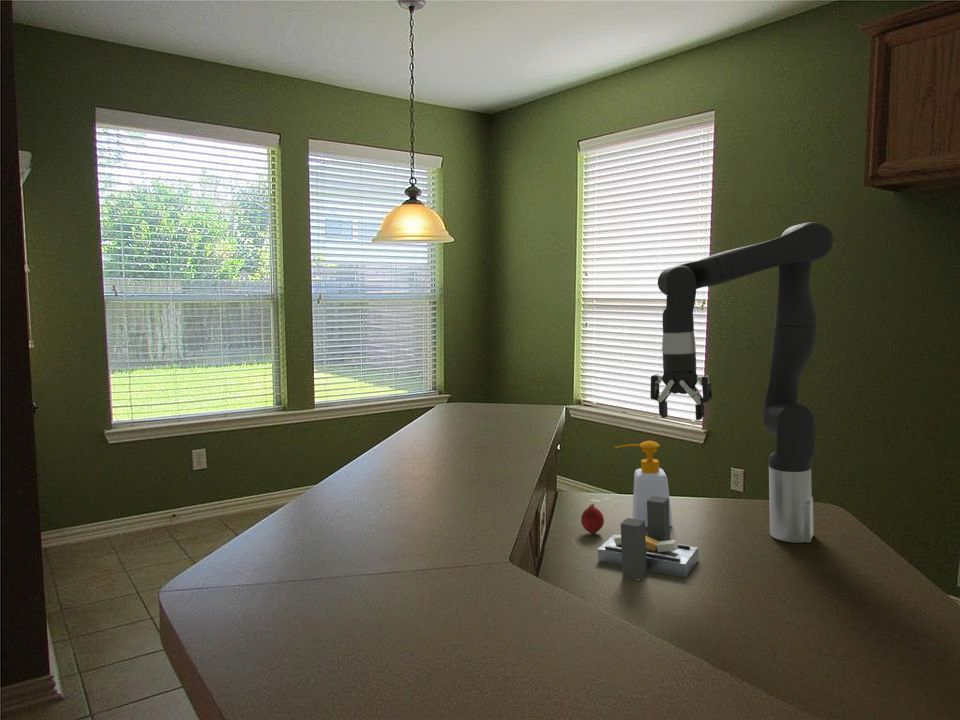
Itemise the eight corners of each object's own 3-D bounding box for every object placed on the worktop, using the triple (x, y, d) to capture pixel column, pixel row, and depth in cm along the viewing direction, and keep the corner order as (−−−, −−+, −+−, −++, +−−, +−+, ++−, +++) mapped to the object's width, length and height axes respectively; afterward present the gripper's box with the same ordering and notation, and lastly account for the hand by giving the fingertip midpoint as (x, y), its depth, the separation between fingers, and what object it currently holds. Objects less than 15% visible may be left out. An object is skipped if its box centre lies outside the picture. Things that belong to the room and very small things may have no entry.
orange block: (657, 547, 147) (659, 541, 146) (654, 551, 145) (656, 545, 144) (641, 540, 149) (642, 534, 148) (637, 544, 147) (639, 538, 146)
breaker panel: (698, 560, 146) (697, 545, 145) (685, 577, 137) (685, 561, 137) (614, 546, 157) (613, 532, 156) (598, 561, 148) (597, 546, 148)
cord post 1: (646, 573, 140) (644, 520, 139) (640, 580, 137) (638, 526, 136) (629, 570, 143) (627, 518, 142) (622, 577, 139) (620, 523, 138)
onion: (604, 538, 162) (602, 507, 161) (581, 538, 163) (579, 507, 163) (604, 530, 168) (603, 500, 167) (582, 529, 169) (580, 500, 168)
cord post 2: (670, 546, 155) (668, 497, 153) (665, 552, 151) (663, 502, 150) (654, 543, 157) (652, 496, 156) (648, 549, 153) (646, 500, 152)
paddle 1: (635, 539, 149) (633, 533, 149) (631, 543, 147) (629, 536, 147) (619, 541, 152) (617, 534, 152) (615, 544, 150) (613, 538, 150)
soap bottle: (616, 517, 177) (613, 438, 175) (668, 516, 175) (665, 436, 173) (618, 529, 168) (615, 446, 166) (673, 529, 166) (670, 444, 164)
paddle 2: (678, 546, 144) (676, 539, 144) (675, 550, 142) (673, 543, 142) (661, 548, 146) (659, 541, 146) (658, 552, 144) (656, 545, 144)
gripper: (714, 349, 150) (716, 417, 152) (657, 349, 159) (659, 413, 161) (702, 352, 144) (705, 423, 146) (644, 352, 154) (646, 419, 155)
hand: (681, 418), depth 153 cm, fingers open, 8 cm apart
